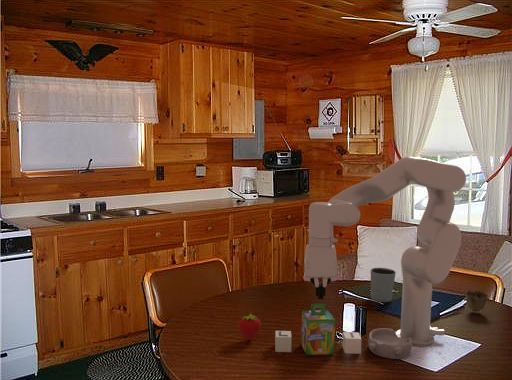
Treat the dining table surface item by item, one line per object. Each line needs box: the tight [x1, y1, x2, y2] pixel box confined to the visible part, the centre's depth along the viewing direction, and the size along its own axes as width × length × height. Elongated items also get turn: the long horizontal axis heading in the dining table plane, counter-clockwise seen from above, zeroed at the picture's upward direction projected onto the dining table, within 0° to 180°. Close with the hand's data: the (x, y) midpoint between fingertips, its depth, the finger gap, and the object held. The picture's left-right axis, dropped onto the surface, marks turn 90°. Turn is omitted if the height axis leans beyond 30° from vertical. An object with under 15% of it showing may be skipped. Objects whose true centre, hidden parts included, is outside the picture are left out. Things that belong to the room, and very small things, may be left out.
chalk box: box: [300, 303, 336, 356], centre depth 166 cm, size 9×9×15 cm
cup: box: [466, 290, 488, 315], centre depth 201 cm, size 8×7×8 cm
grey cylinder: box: [370, 267, 397, 303], centre depth 217 cm, size 10×10×12 cm
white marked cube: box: [274, 330, 293, 353], centre depth 167 cm, size 5×5×5 cm
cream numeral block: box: [342, 331, 362, 355], centre depth 167 cm, size 5×5×5 cm
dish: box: [367, 327, 413, 360], centre depth 167 cm, size 14×14×5 cm
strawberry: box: [238, 310, 262, 341], centre depth 173 cm, size 6×8×10 cm
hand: (320, 297), depth 165 cm, fingers closed
